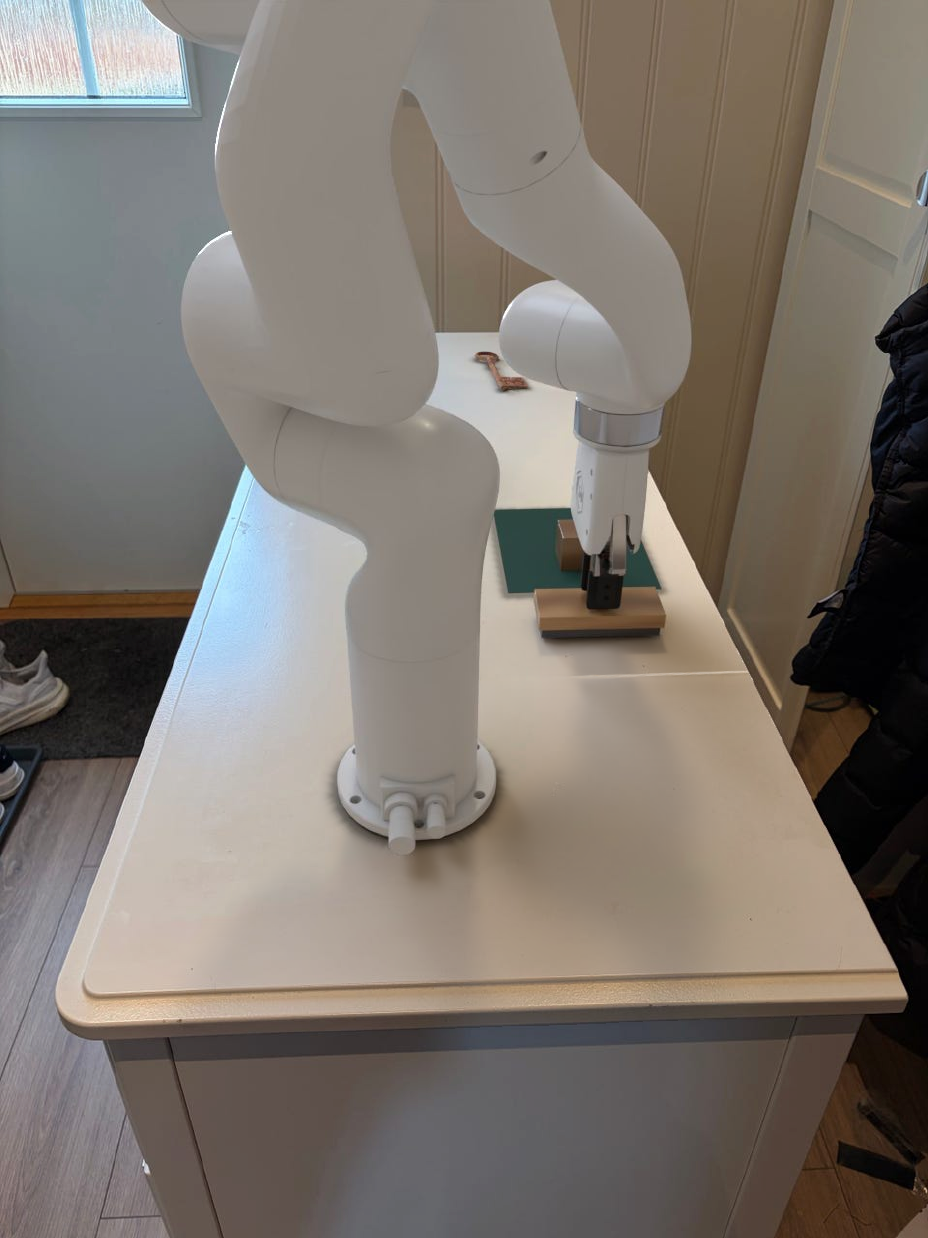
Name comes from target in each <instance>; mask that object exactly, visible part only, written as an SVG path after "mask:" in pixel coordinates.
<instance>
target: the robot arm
mask: <svg viewBox="0 0 928 1238" xmlns="http://www.w3.org/2000/svg"><path fill="white" fill-rule="evenodd" d="M139 1H140V2H141V4H142V5H143V7H145V9H146V10H147V11H148V13H149V14H150V15H151V16H152V17H153V18H155V20H156V21H158V22H159V23H160V24H161V25H162V26H163V27H165V28H166V29H168V30H169V31H171V32H172V33H173V34H175V35H176V36H178V37H180V38H182V39H184V40H186V41H189V42H192V43H195V44H197V45H200V46H204V47H207V48H210V49H214V50H218V51H221V52H224V53H229V54H232V55H236V56H239V58H238V62H237V64H236V67H235V71H234V74H233V77H232V80H231V84H230V87H229V91H228V94H227V96H226V97H227V98H226V101H225V103H224V106H223V107H224V108H223V111H222V114H221V117H220V122H219V126H218V130H217V136H216V143H215V150H214V151H215V152H214V171H215V172H214V173H215V181H216V188H217V193H218V197H219V202H220V205H221V208H222V212H223V215H224V218H225V221H226V224H227V225H228V228H229V231H228V232H227V231H226V232H225V233H222V234H221V235H219V236H217V237H216V238H214V239H212V240H211V241H210V242H208V243H207V244H206V245H205V246H204V247H203V248H202V249H201V250H200V251H199V253H198V254H197V255H196V256H195V258H194V260H193V261H192V263H191V265H190V267H189V269H188V271H187V273H186V277H185V280H184V284H183V288H182V295H181V301H180V302H181V303H180V321H181V329H182V337H183V341H184V345H185V348H186V352H187V356H188V357H189V360H190V363H191V365H192V367H193V370H194V371H195V374H196V376H197V377H198V379H199V381H200V383H201V385H202V387H203V389H204V391H205V392H206V394H207V396H208V398H209V400H210V402H211V404H212V405H213V407H214V409H215V411H216V413H217V415H218V417H219V419H220V420H221V422H222V424H223V426H224V427H225V429H226V431H227V433H228V435H229V437H230V439H231V440H232V442H233V444H234V446H235V448H236V450H237V452H238V453H239V455H240V457H241V458H242V460H243V462H244V464H245V465H246V467H247V469H248V471H249V472H250V474H251V475H252V477H253V478H254V479H255V481H256V483H257V484H258V485H259V486H260V487H261V488H262V489H263V490H264V491H265V492H266V493H267V494H268V496H270V497H271V498H273V499H274V500H276V501H277V502H278V503H280V504H282V505H284V506H286V507H288V508H290V509H292V510H294V511H296V512H298V513H301V514H303V515H306V516H308V517H310V518H313V519H315V520H317V521H320V522H322V523H325V524H327V525H329V526H332V527H334V528H336V529H338V530H339V531H340V532H343V533H345V534H347V535H350V536H352V537H353V538H355V539H357V540H359V541H360V542H361V543H362V544H363V546H364V548H365V551H366V558H365V560H364V562H363V563H362V565H360V567H359V568H358V570H356V572H354V574H353V576H352V577H351V579H350V580H349V583H348V585H347V588H346V591H345V597H344V621H345V623H344V624H345V631H346V643H347V657H348V658H347V659H348V671H349V684H350V685H349V686H350V699H351V713H352V714H351V715H352V726H353V727H352V728H353V741H354V744H352V745H351V747H349V749H347V751H346V752H345V754H344V755H343V757H342V759H341V760H340V763H339V765H338V769H337V775H336V777H337V778H336V785H337V794H338V798H339V800H340V802H341V805H342V806H343V809H344V810H345V811H346V812H347V814H348V815H349V816H350V817H351V818H352V819H353V820H354V821H355V822H356V823H357V824H358V825H360V826H362V827H364V828H365V829H367V830H369V831H371V832H373V833H376V834H378V835H381V836H383V837H387V838H388V850H389V851H390V853H392V854H393V855H395V856H406V855H410V854H412V853H413V852H414V851H415V849H416V841H423V840H439V839H443V838H444V837H446V836H449V835H452V834H454V833H457V832H459V831H462V830H464V829H465V828H466V827H468V826H470V825H471V824H473V823H474V822H475V821H477V820H479V818H480V817H481V816H483V815H484V813H485V812H486V810H487V809H488V808H489V807H490V805H491V803H492V801H493V798H494V797H495V795H496V794H495V793H496V787H497V768H496V765H495V761H494V758H493V757H492V755H491V753H490V751H489V750H488V749H487V748H486V747H485V746H484V745H483V743H482V742H481V741H479V740H478V733H479V695H480V694H479V693H480V692H479V691H480V652H481V649H480V647H481V608H482V607H481V606H482V586H483V585H482V584H483V574H484V573H483V572H484V566H485V565H484V563H485V557H486V551H487V545H488V541H489V536H490V532H491V528H492V522H493V520H494V511H495V510H496V507H497V504H498V503H497V502H498V497H499V493H500V485H501V484H500V483H501V469H500V462H499V459H498V456H497V453H496V451H495V449H494V447H493V446H492V444H491V442H490V441H489V440H488V439H487V437H486V436H485V435H484V434H483V433H482V432H481V431H480V430H479V429H478V428H476V427H475V426H474V425H472V424H471V423H469V422H468V421H466V420H465V419H462V418H461V417H459V416H457V415H455V414H453V413H451V412H448V411H446V410H445V409H444V410H443V409H441V408H439V407H435V406H433V405H429V404H427V402H429V400H430V398H431V396H432V394H433V392H434V389H435V387H436V383H437V380H438V375H439V367H440V356H439V347H438V339H437V335H436V329H435V323H434V320H433V316H432V312H431V309H430V306H429V301H428V298H427V295H426V292H425V289H424V284H423V282H422V279H421V278H422V277H421V274H420V272H419V267H418V264H417V261H416V258H415V257H416V256H415V254H414V251H413V247H412V244H411V241H410V237H409V234H408V230H407V227H406V223H405V220H404V217H403V214H402V210H401V206H400V201H399V197H398V193H397V187H396V184H395V180H394V174H393V171H392V157H391V156H392V155H391V142H392V141H391V139H392V129H393V125H394V121H395V116H396V111H397V108H398V103H399V99H400V96H401V94H402V93H401V92H402V90H407V91H409V92H410V93H411V94H412V95H413V96H414V97H415V98H416V101H418V105H419V106H420V109H421V112H422V113H423V115H424V118H425V120H426V122H427V124H428V127H429V129H430V132H431V134H432V137H433V139H434V142H435V144H436V147H437V148H438V151H439V153H440V156H441V158H442V160H443V163H444V164H445V168H446V170H447V173H448V176H449V179H450V180H451V184H452V185H453V188H454V191H455V193H456V195H457V198H458V200H459V203H460V206H461V209H462V211H463V213H464V214H465V216H466V217H467V219H468V221H469V222H470V223H471V224H472V225H473V227H475V228H476V229H477V230H478V231H479V232H480V233H481V234H483V235H484V236H485V237H487V238H488V239H489V240H491V241H492V242H494V243H495V244H496V245H497V246H499V247H501V248H502V249H504V250H505V251H507V252H508V253H509V254H511V255H513V256H514V257H515V258H517V259H519V260H521V261H522V262H524V263H526V264H527V265H530V266H531V267H533V268H535V269H537V270H539V271H540V272H542V273H544V274H546V275H548V276H550V277H552V278H553V279H552V280H545V281H542V282H538V283H535V284H533V285H531V286H529V287H527V288H525V289H524V290H522V291H521V292H519V294H518V295H516V296H515V297H514V299H513V300H512V301H510V303H509V304H508V306H507V308H506V310H505V311H504V314H503V316H502V319H501V321H500V324H499V328H498V329H499V330H498V344H499V350H500V353H501V356H502V358H503V359H504V362H505V363H506V364H507V366H509V367H510V368H511V370H512V371H514V372H515V373H517V374H518V375H520V376H521V377H523V378H526V379H528V380H531V381H533V382H536V383H539V384H543V385H547V386H550V387H553V388H557V389H561V390H564V391H568V392H574V393H575V402H574V403H575V404H574V416H573V417H574V418H573V430H572V434H573V436H574V438H575V439H576V440H577V441H578V442H577V449H576V455H575V464H574V465H575V466H574V473H573V480H572V488H571V496H570V497H571V498H570V508H571V513H572V517H573V520H574V524H575V527H576V531H577V534H578V537H579V540H580V543H581V546H582V549H583V550H584V551H585V553H583V562H582V573H581V584H580V585H581V589H582V590H583V591H587V595H586V607H587V609H589V610H595V609H618V608H619V607H620V603H621V595H622V587H623V578H624V574H625V573H626V551H627V547H628V549H629V552H630V553H631V554H634V553H635V552H636V551H637V550H638V549H639V546H640V541H642V535H643V529H644V528H643V527H644V518H645V509H646V501H647V500H646V499H647V489H648V476H649V475H648V474H649V458H650V449H651V448H653V447H655V446H657V444H659V443H660V441H661V440H662V432H663V425H664V416H665V411H666V402H667V401H669V400H670V399H671V398H672V397H673V396H674V395H675V394H676V393H677V391H678V390H679V389H680V387H681V386H682V383H683V381H684V380H685V378H686V376H687V375H686V374H687V373H688V368H689V366H690V360H691V353H692V323H691V314H690V308H689V303H688V298H687V292H686V287H685V281H684V277H683V273H682V269H681V266H680V263H679V261H678V259H677V256H676V254H675V251H674V250H673V248H672V247H671V245H670V244H669V242H668V240H667V239H666V238H665V236H664V235H663V233H662V232H661V231H660V230H659V228H658V227H657V226H656V225H655V224H654V223H653V221H652V220H651V219H650V217H648V216H647V214H645V212H644V211H643V210H642V209H641V208H640V206H638V204H637V203H636V202H635V201H634V200H633V198H632V197H630V195H629V194H628V193H627V192H626V191H625V190H624V189H623V187H621V185H619V184H618V183H617V181H615V179H613V178H612V177H611V176H610V175H609V174H608V173H607V172H606V171H605V170H604V169H603V168H602V167H601V166H600V165H598V163H597V162H596V161H595V160H594V158H593V157H592V156H591V154H590V150H589V148H588V143H587V140H586V136H585V133H584V128H583V124H582V120H581V116H580V114H579V109H578V106H577V101H576V97H575V94H574V91H573V85H572V83H571V82H572V81H571V79H570V75H569V71H568V68H567V64H566V63H567V62H566V59H565V55H564V51H563V48H562V44H561V40H560V36H559V32H558V29H557V28H558V27H557V24H556V20H555V17H554V13H553V8H552V5H551V1H550V0H139ZM607 553H610V557H609V558H603V560H602V561H601V559H602V554H607ZM592 554H594V556H593V568H592V571H589V570H590V560H591V555H592Z"/></svg>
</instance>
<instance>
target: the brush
mask: <svg viewBox="0 0 928 1238" xmlns="http://www.w3.org/2000/svg"><path fill="white" fill-rule="evenodd" d="M593 556H594V554H592V555H591V560H590V570H589V571H592V568H593ZM609 557H610V553H607V554H602V559H601V561H602V560H603V558H609ZM657 590H658V589H656V587H622V595H621V603H620V607H619V608H618V609H595V610H589V609H587V607H586V595H587V591H583V590H582V589H581V588H569V589H535V590H534V593H533V606H534V611H535V616H536V622H537V627H538V630H539V632H540V638H541V639H550V638H551V639H554V638H597V637H598V638H600V637H601V638H602V637H603V638H604V637H642V636H644V637H645V636H646V637H647V636H649V637H650V636H660V635H661V630H662V629H664V628H665V626H666V620H667V613H666V610H665V609H664V606H663V603H662V601H661V598H660V595H659V593H658V591H657Z"/></svg>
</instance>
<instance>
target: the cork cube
mask: <svg viewBox="0 0 928 1238" xmlns="http://www.w3.org/2000/svg"><path fill="white" fill-rule="evenodd" d="M555 552H556V556H557V559H558V563H559V567H560V570H561V571H565V570H582V562H583V553H585V551H584V550H583V549H582V546H581V543H580V540H579V537H578V534H577V531H576V527H575V524H574V520H558V522H557V536H556V550H555Z"/></svg>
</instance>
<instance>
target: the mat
mask: <svg viewBox="0 0 928 1238" xmlns="http://www.w3.org/2000/svg"><path fill="white" fill-rule="evenodd" d="M493 520H494V524H495V530H496V536H497V540H498V545H499V550H500V551H499V552H500V556H501V561H502V567H503V573H504V574H503V575H504V578H505V585H506V589H507V594H534V590H535V589H569V588H581V585H580V584H581V573H582V570H565V571H561V570H560V567H559V563H558V559H557V556H556V552H555V550H556V536H557V522H558V520H573V517H572V513H571V507H557V508H556V507H555V508H554V507H552V508H551V507H550V508H549V507H547V508H508V509H507V508H506V509H505V508H504V509H503V508H501V509H495V511H494V515H493ZM643 543H644V542H643V541H642V540H641V541H640V546H639V549H638V550H637V551H636V552H635V553H634V554H631V553H630V552H629V549H628V547H627V551H626V573H625V574H624V578H623V587H656V590H662V586H661V584H660V582H659V579H658V577H657V575H656V572H655V570H654V567H653V565H652V563H651V561H650V558H649V556H648V553H647V551H646V548H645V546H644V544H643Z"/></svg>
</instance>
